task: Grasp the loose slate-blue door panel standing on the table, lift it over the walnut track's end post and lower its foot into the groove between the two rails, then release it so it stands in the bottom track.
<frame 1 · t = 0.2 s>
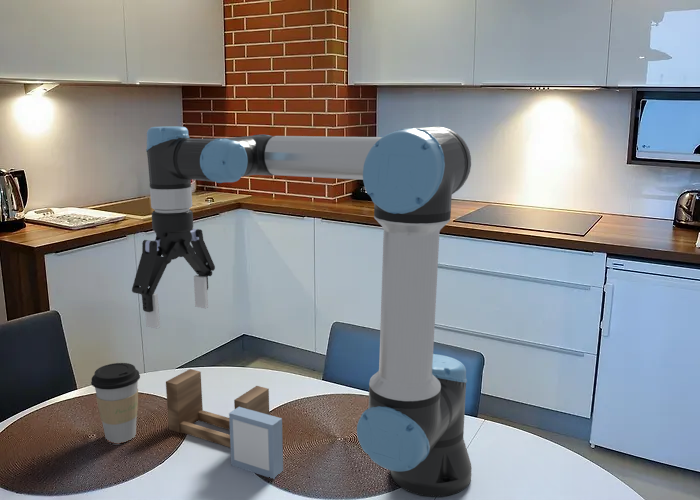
hand: (178, 316, 127), 27 cm above the table, fingers open, 13 cm apart
track: (218, 433, 137), on the table
coffee cup: (120, 438, 135), on the table
door panel: (257, 468, 124), on the table
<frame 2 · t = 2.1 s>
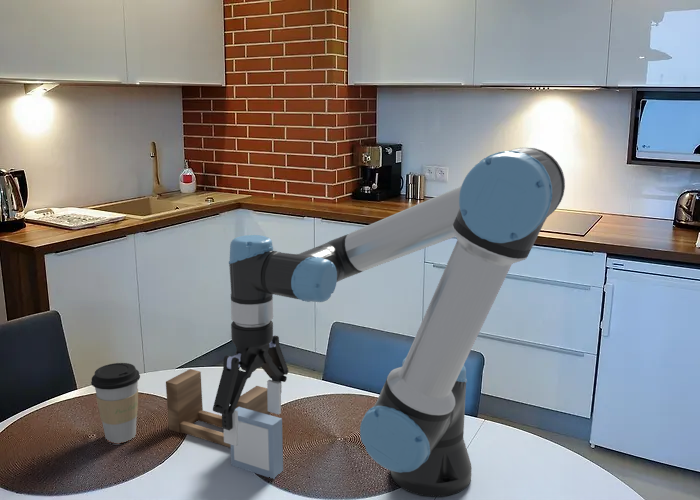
hand: (253, 427, 122), 8 cm above the table, fingers open, 13 cm apart
nothing on the table moved.
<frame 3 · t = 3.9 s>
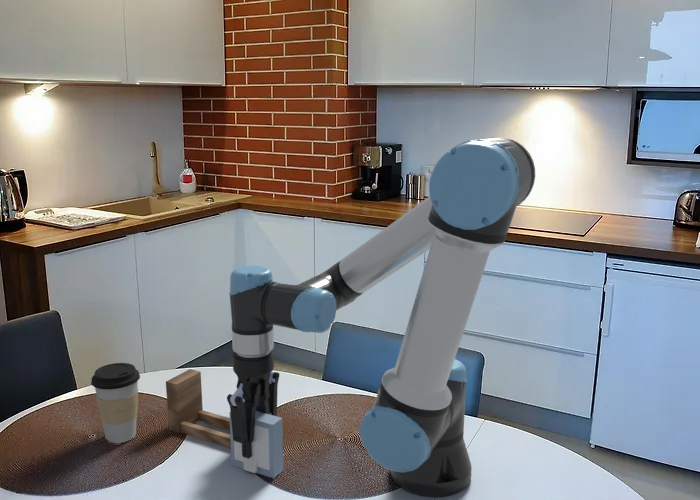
hand: (256, 465, 124), 1 cm above the table, fingers closed on door panel, 3 cm apart
door panel: (257, 467, 124), on the table, touching gripper
everything else where it was.
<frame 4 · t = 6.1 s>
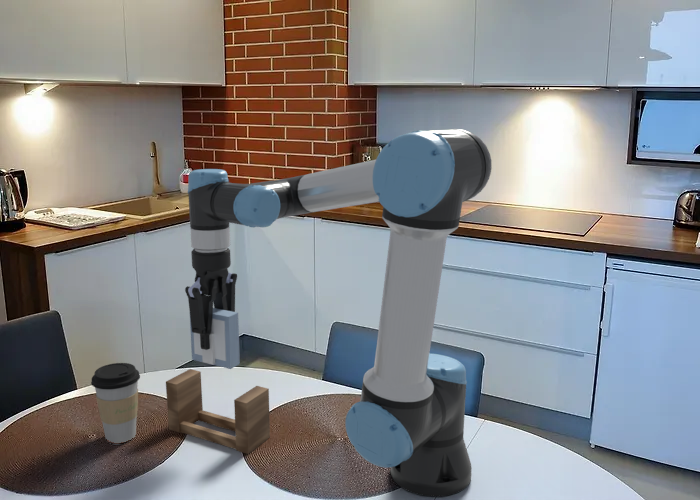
hand: (215, 359, 133), 17 cm above the table, fingers closed on door panel, 3 cm apart
door panel: (215, 361, 133), point 16 cm above the table, touching gripper
everything else where it was.
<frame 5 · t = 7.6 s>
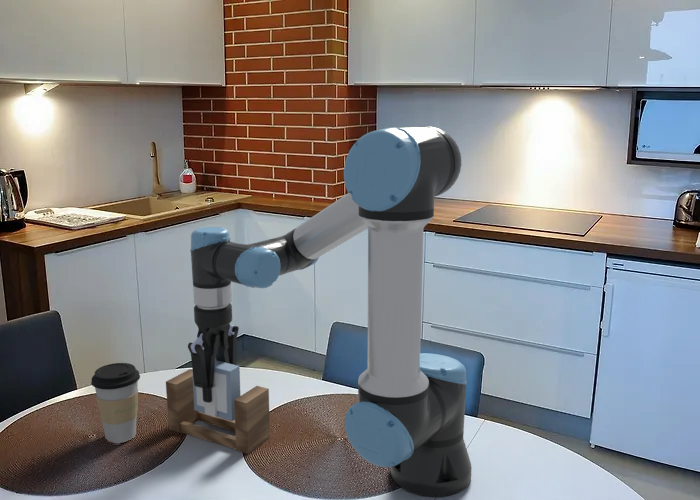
hand: (217, 410, 136), 5 cm above the table, fingers closed on door panel, 3 cm apart
door panel: (217, 412, 136), point 5 cm above the table, touching gripper
everything else where it was.
when the fingers open (3 cm above the table, at t = 8.6 s): door panel drops 2 cm, resting in track.
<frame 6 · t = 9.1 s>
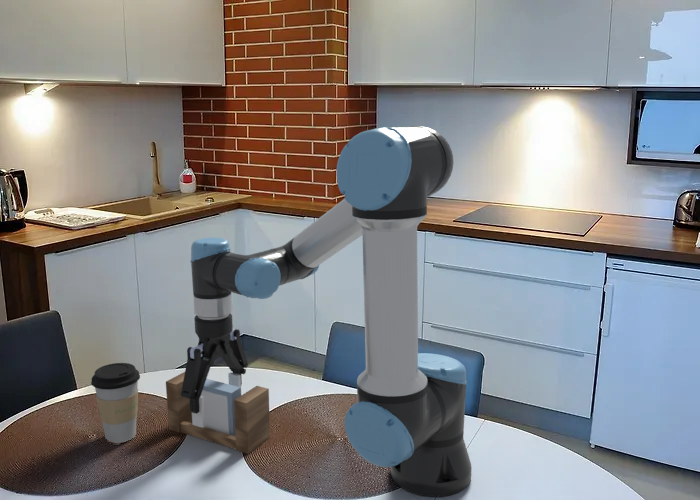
hand: (217, 413, 136), 5 cm above the table, fingers open, 11 cm apart
door panel: (219, 433, 137), resting in track
everything else where it was.
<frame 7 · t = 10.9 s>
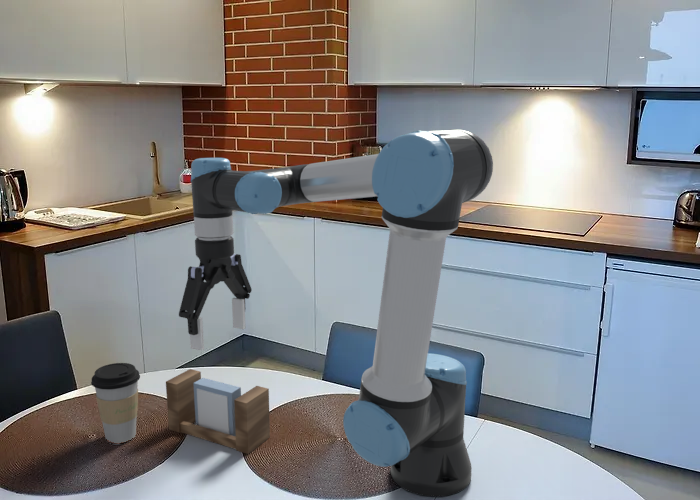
hand: (219, 338, 133), 21 cm above the table, fingers open, 13 cm apart
nothing on the table moved.
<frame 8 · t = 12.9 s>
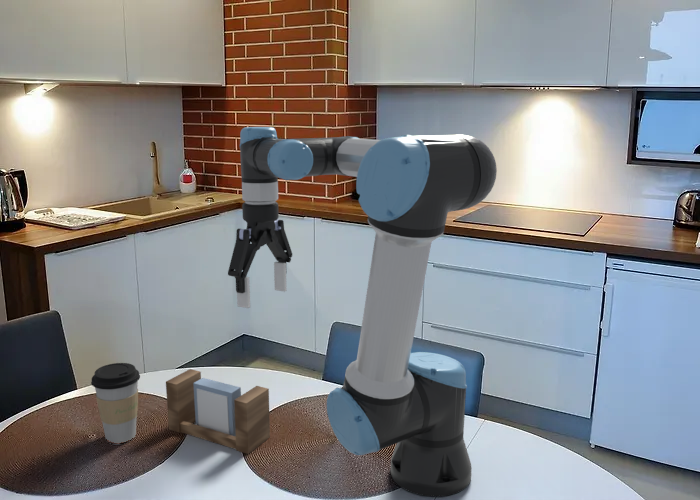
hand: (263, 298, 141), 27 cm above the table, fingers open, 13 cm apart
nothing on the table moved.
at the end: door panel inside the target area on the track (0.1 cm from its centre), point 0.0 cm above the track's base; door panel tilted 0°; the gripper is holding nothing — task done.
